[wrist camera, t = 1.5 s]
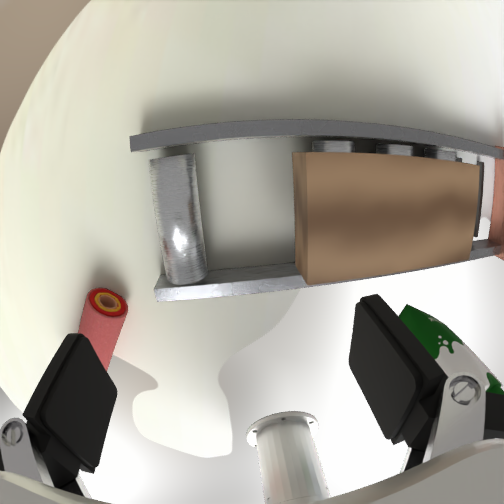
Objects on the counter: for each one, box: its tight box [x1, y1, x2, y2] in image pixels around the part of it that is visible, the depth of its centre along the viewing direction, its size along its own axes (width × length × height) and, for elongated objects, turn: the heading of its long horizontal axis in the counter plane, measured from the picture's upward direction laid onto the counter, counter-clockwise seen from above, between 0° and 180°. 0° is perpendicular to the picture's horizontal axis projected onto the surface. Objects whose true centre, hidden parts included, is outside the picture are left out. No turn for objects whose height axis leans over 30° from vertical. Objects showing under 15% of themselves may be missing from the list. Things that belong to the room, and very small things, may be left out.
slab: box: [292, 152, 480, 285], centre depth 22 cm, size 10×19×4 cm, turn 94°
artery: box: [78, 288, 128, 371], centre depth 32 cm, size 42×5×5 cm, turn 149°
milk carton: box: [398, 304, 504, 395], centre depth 26 cm, size 9×9×20 cm
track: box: [130, 119, 504, 302], centre depth 25 cm, size 17×51×5 cm, turn 94°
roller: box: [149, 154, 208, 285], centre depth 24 cm, size 11×4×4 cm, turn 4°
